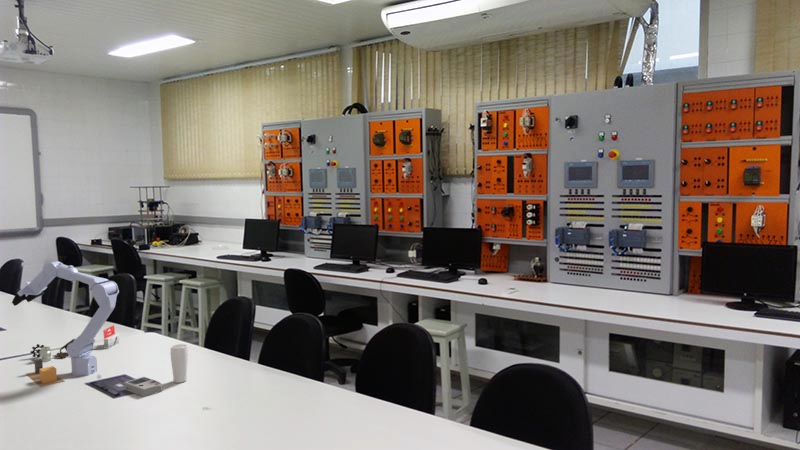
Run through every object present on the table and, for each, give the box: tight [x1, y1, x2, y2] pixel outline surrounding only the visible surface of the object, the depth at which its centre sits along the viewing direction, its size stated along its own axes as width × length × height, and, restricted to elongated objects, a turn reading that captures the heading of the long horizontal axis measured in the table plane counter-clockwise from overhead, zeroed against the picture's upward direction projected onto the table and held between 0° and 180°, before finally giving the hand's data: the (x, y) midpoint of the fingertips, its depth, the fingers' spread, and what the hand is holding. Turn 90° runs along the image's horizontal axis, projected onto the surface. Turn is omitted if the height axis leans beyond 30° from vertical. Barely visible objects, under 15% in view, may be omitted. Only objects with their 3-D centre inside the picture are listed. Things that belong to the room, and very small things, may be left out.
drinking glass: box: [170, 343, 189, 384], centre depth 246 cm, size 7×7×15 cm
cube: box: [39, 365, 58, 383], centre depth 245 cm, size 5×5×5 cm
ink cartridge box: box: [102, 325, 120, 350], centre depth 302 cm, size 2×11×10 cm, turn 179°
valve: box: [30, 343, 52, 363], centre depth 279 cm, size 7×7×12 cm
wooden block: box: [25, 357, 66, 388], centre depth 248 cm, size 24×9×7 cm, turn 45°
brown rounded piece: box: [56, 338, 76, 359], centre depth 287 cm, size 7×13×10 cm
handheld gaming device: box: [123, 376, 163, 398], centre depth 235 cm, size 9×14×4 cm, turn 54°
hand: (20, 302), depth 256 cm, fingers open, 7 cm apart
